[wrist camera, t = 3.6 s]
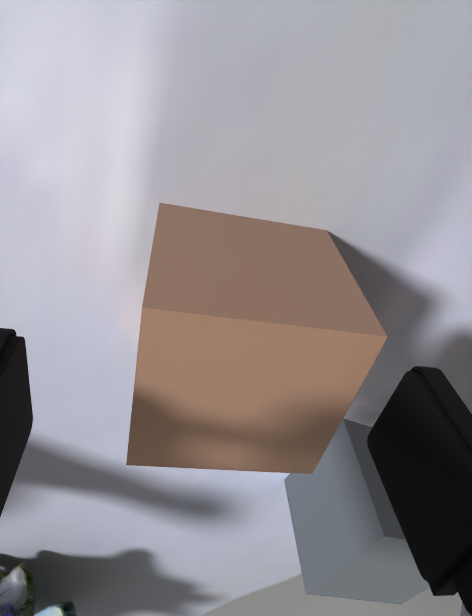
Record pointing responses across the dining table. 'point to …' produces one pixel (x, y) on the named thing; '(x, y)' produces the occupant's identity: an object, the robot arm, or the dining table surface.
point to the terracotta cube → (246, 345)
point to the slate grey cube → (350, 526)
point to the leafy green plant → (25, 596)
